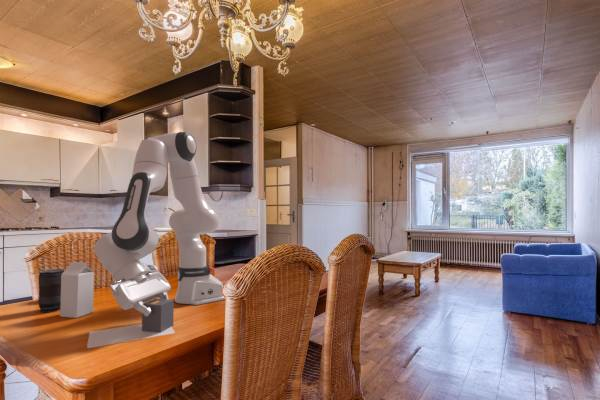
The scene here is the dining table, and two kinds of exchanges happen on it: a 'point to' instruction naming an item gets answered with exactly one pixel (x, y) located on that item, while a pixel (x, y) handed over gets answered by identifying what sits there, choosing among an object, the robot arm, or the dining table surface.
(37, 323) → the dining table surface
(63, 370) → the dining table surface
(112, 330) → the workboard
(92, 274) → the milk carton
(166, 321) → the block
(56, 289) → the camera lens
